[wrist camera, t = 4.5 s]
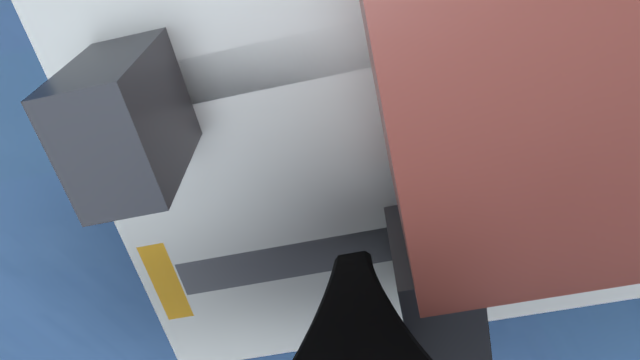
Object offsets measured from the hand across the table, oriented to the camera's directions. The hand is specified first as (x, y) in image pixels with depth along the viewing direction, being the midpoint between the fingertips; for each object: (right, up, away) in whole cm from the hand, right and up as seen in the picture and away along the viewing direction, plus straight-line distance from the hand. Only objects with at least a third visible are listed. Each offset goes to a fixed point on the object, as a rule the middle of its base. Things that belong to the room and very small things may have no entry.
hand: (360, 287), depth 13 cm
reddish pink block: (+3, +6, -1) cm, 6 cm away
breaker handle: (+2, +1, +1) cm, 2 cm away
